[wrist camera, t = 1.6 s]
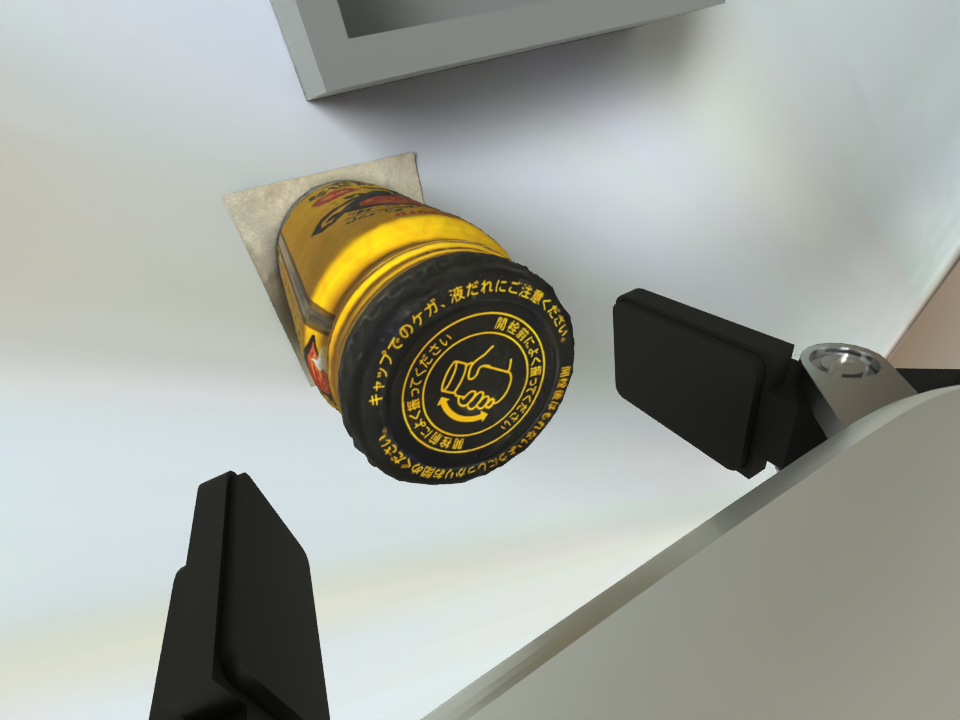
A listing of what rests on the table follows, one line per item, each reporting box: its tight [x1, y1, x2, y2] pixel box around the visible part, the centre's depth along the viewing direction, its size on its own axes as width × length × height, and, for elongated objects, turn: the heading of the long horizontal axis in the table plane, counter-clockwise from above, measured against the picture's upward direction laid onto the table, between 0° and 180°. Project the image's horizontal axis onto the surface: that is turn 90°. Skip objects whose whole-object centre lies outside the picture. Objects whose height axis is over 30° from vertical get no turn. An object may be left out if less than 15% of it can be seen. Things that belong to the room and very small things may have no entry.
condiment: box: [221, 152, 575, 485], centre depth 14 cm, size 7×8×12 cm
